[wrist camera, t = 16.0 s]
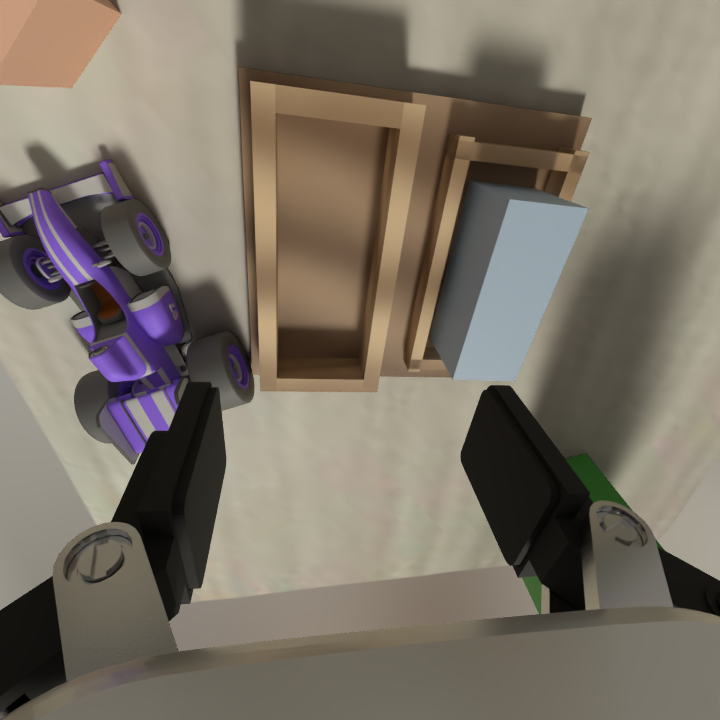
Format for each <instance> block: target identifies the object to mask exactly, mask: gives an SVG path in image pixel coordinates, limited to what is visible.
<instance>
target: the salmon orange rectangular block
mask: <svg viewBox="0 0 720 720" xmlns="http://www.w3.org/2000/svg"><path fill="white" fill-rule="evenodd" d="M120 15H121V13H120V12H119V11H118V9H117V8H116V7H115V6H114V5H113V4H112V3H111V2H110V1H109V0H0V85H19V86H41V87H63V88H72V87H73V86H74V84H75V83H76V81H77V80H78V78H79V77H80V75H81V74H82V72H83V71H84V69H85V68H86V66H87V65H88V63H89V62H90V60H91V59H92V57H93V56H94V54H95V53H96V51H97V50H98V48H99V47H100V45H101V44H102V42H103V41H104V39H105V38H106V36H107V35H108V33H109V32H110V30H111V29H112V27H113V26H114V24H115V23H116V21H117V20H118V18H119V17H120Z"/></svg>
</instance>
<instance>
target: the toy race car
mask: <svg viewBox="0 0 720 720" xmlns="http://www.w3.org/2000/svg"><path fill="white" fill-rule="evenodd" d="M99 164H100V166H101V168H102V170H103V172H102V173H99V174H96V175H93V176H90V177H87V178H84V179H81V180H78V181H75V182H72V183H69V184H66V185H63V186H60V187H57V188H54V189H51V190H47V189H44V188H39V189H37V190H34V191H30V192H28V197H26V198H23V199H20V200H17V201H14V202H11V203H8V204H5V203H4V204H2V203H1V201H0V233H1V234H2V236H3V237H12V238H9V239H6V240H3V241H0V293H1V294H2V295H3V296H4V297H5V298H7V299H8V300H9V301H11V302H12V303H14V304H16V305H18V306H20V307H22V308H26V309H32V310H33V309H40V308H44V307H47V306H50V305H53V304H56V303H59V302H62V301H64V300H66V299H67V298H68V296H70V297H71V298H72V299H73V301H74V302H75V303H76V305H77V306H78V307H79V308H80V310H81V312H79V313H77V314H76V315H74V316H73V317H71V318H70V319H71V321H72V323H73V324H74V326H75V328H76V329H77V331H78V332H79V334H80V335H81V336H82V337H83V338H84V339H85V340H87V341H88V342H89V343H90V345H89V348H90V349H91V350H92V352H91V353H90V354H89V359H90V360H91V361H92V363H93V364H94V365H95V366H96V367H97V369H98V370H97V371H94V372H90V373H88V374H86V375H85V376H83V377H82V378H81V379H80V380H79V382H78V384H77V386H76V389H75V394H74V404H75V410H76V413H77V416H78V419H79V421H80V423H81V425H82V426H83V428H84V429H85V430H86V431H87V433H88V434H89V435H90V436H92V437H93V438H94V439H96V440H98V441H100V442H103V443H112V444H113V445H114V446H115V447H116V448H117V449H118V450H119V451H120V453H121V454H122V455H123V456H124V457H125V458H126V459H127V460H128V461H129V462H130V463H131V464H135V462H136V460H137V457H138V455H139V453H141V452H143V449H144V447H145V445H146V443H147V440H148V438H149V436H150V435H151V433H152V432H153V431H168V430H169V427H170V425H171V422H172V420H173V417H174V415H175V412H176V410H177V407H178V405H179V402H180V400H181V397H182V395H183V392H184V390H185V387H186V385H187V383H188V382H211V384H212V387H218V388H219V392H220V402H221V411H223V410H226V409H230V408H233V407H236V406H240V405H243V404H246V403H249V402H251V401H252V399H253V396H254V378H253V374H252V368H251V365H250V362H249V359H248V356H247V354H246V352H245V350H244V348H243V346H242V345H241V343H240V341H239V340H238V339H237V337H236V336H235V335H234V334H233V333H231V332H229V331H224V332H221V333H217V334H214V335H211V336H208V337H204V338H201V339H198V340H195V341H193V342H191V344H190V345H189V347H188V350H187V366H186V364H185V362H184V361H183V359H182V357H181V355H180V353H179V351H178V349H177V347H176V345H180V344H183V343H186V342H188V341H190V340H191V339H192V333H191V329H190V326H189V322H188V319H187V315H186V312H185V309H184V305H183V302H182V298H181V295H180V292H179V289H178V287H177V284H176V282H175V280H174V278H173V277H172V275H171V273H170V272H169V270H168V267H169V266H170V263H171V252H170V247H169V243H168V240H167V238H166V236H165V234H164V232H163V230H162V228H161V227H160V225H159V223H158V221H157V220H156V218H155V216H154V215H153V213H152V212H151V211H150V210H149V209H148V207H146V206H145V205H144V204H143V203H142V202H140V201H138V200H136V199H133V197H132V195H131V193H130V191H129V190H128V188H127V186H126V184H125V183H124V181H123V179H122V177H121V176H120V174H119V172H118V171H117V169H116V167H115V165H114V164H113V162H112V160H105V161H101V162H99ZM95 194H114V195H115V197H116V199H117V200H118V201H123V202H120V203H117V204H114V205H111V206H108V207H105V208H104V209H103V210H102V213H101V227H102V231H103V234H104V237H105V240H103V241H99V242H98V241H97V240H96V238H95V237H94V236H93V235H92V234H91V233H90V232H89V231H88V230H87V229H86V228H83V227H77V226H76V225H75V224H74V222H73V221H72V220H71V219H70V218H69V216H68V215H67V214H66V213H65V211H64V210H63V209H62V208H61V206H60V205H62V204H65V203H68V202H71V201H74V200H77V199H80V198H83V197H86V196H90V195H95ZM32 216H33V218H34V222H35V225H36V228H37V231H38V234H39V237H40V239H38V238H35V237H33V236H29V235H23V234H25V233H24V231H23V230H22V229H21V227H22V225H23V224H24V223H25V222H26V221H27V220H29V219H30V218H31V217H32ZM14 236H15V237H14ZM105 244H108V246H109V247H106V248H103V247H102V245H105ZM110 249H111V251H112V252H110V253H107V250H110ZM113 256H115V257H116V258H117V260H118V261H119V262H120V263H121V264H122V265H123V266H120V267H114V266H110V265H111V264H112V263H114V262H115V261H114V260H113V258H112V257H113ZM109 266H110V267H109Z"/></svg>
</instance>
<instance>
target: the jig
mask: <svg viewBox="0 0 720 720" xmlns="http://www.w3.org/2000/svg"><path fill="white" fill-rule="evenodd" d="M238 73H239V95H240V117H241V139H242V161H243V182H244V204H245V226H246V248H247V270H248V291H249V313H250V335H251V357H252V374H260V391H300V392H377V389H378V383H379V377H380V376H396V377H451V376H450V374H449V372H448V370H447V368H446V366H445V365H444V363H443V361H442V359H441V357H440V355H439V354H438V352H437V350H436V348H435V346H434V345H433V343H432V341H431V339H430V337H429V335H430V331H431V327H432V324H433V320H434V316H435V312H436V308H437V304H438V300H439V296H440V293H441V289H442V285H443V281H444V277H445V273H446V269H447V265H448V262H449V258H450V254H451V250H452V246H453V242H454V238H455V234H456V230H457V227H458V223H459V219H460V215H461V211H462V207H463V203H464V199H465V196H466V192H467V188H468V184H469V180H474V181H482V182H490V183H498V184H506V185H514V186H522V187H530V188H536V189H539V190H541V191H544V192H546V193H549V194H552V195H554V196H557V197H560V198H562V199H565V200H567V201H570V202H571V199H572V197H573V194H574V192H575V189H576V186H577V184H578V181H579V179H580V176H581V173H582V171H583V168H584V166H585V163H586V160H587V158H588V155H589V153H590V152H586V151H581V150H580V149H581V146H582V144H583V141H584V138H585V136H586V133H587V130H588V127H589V125H590V122H591V119H592V118H588V117H581V116H574V115H567V114H561V113H554V112H547V111H540V110H533V109H526V108H519V107H512V106H505V105H498V104H491V103H484V102H477V101H471V100H464V99H457V98H450V97H443V96H436V95H429V94H422V93H415V92H408V91H401V90H394V89H388V88H381V87H374V86H367V85H360V84H353V83H346V82H339V81H332V80H325V79H318V78H311V77H304V76H298V75H291V74H284V73H277V72H270V71H263V70H256V69H249V68H242V67H238Z"/></svg>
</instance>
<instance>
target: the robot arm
mask: <svg viewBox="0 0 720 720" xmlns="http://www.w3.org/2000/svg"><path fill="white" fill-rule="evenodd" d="M461 462H462V465H463V467H464V470H465V472H466V474H467V476H468V478H469V481H470V483H471V485H472V487H473V490H474V492H475V494H476V496H477V498H478V501H479V503H480V505H481V507H482V510H483V512H484V514H485V516H486V518H487V521H488V523H489V525H490V527H491V529H492V532H493V534H494V536H495V538H496V541H497V543H498V545H499V547H500V549H501V552H502V554H503V556H504V558H505V560H506V562H507V563H508V564H509V565H510V566H511V565H512V566H513V568H514V570H515V572H516V574H517V577H518V578H520V577H533V576H537V577H538V579H539V581H540V582H541V584H542V594H541V614H537V615H527V616H517V617H516V616H515V617H504V618H494V619H484V620H473V621H462V622H453V623H441V624H431V625H421V626H412V627H401V628H390V629H380V630H370V631H360V632H350V633H340V634H331V635H321V636H311V637H302V638H292V639H282V640H272V641H262V642H253V643H245V644H237V645H229V646H220V647H212V648H204V649H196V650H187V651H180V652H179V651H178V648H177V645H176V642H175V639H174V636H173V633H172V630H171V627H170V624H169V621H170V620H171V619H172V618H173V617H174V616H175V615H177V614H178V613H179V609H180V605H181V604H190V602H191V597H192V593H193V589H195V588H201V586H202V583H203V579H204V574H205V569H206V564H207V559H208V554H209V549H210V544H211V539H212V534H213V529H214V524H215V519H216V514H217V509H218V504H219V499H220V494H221V489H222V484H223V479H224V474H225V468H226V450H225V441H224V431H223V421H222V412H221V402H220V392H219V388H218V387H212V384H211V382H188V383H187V385H186V387H185V390H184V392H183V395H182V397H181V400H180V402H179V405H178V407H177V410H176V412H175V415H174V417H173V420H172V422H171V425H170V427H169V430H168V431H153V432H152V433H151V435H150V436H149V438H148V440H147V443H146V445H145V447H144V449H143V452H142V454H141V456H140V458H139V461H138V463H137V465H136V467H135V470H134V472H133V474H132V476H131V478H130V481H129V483H128V485H127V487H126V490H125V492H124V494H123V496H122V499H121V501H120V503H119V505H118V508H117V510H116V512H115V514H114V517H113V519H112V521H111V522H109V523H103V524H100V525H97V526H93V527H91V528H89V529H88V530H86V531H84V532H82V533H80V534H79V535H77V536H76V537H75V538H74V539H72V540H71V541H70V542H69V543H68V544H67V545H66V546H65V547H64V549H63V550H62V551H61V552H60V553H59V555H58V557H57V559H56V562H55V564H54V566H53V576H52V577H51V578H49V579H47V580H46V581H44V582H43V583H41V584H40V585H38V586H37V587H35V588H34V589H32V590H31V591H29V592H28V593H26V594H24V595H23V596H22V597H20V598H18V599H17V600H15V601H14V602H12V603H11V604H9V605H8V606H6V607H5V608H3V609H2V610H0V720H720V581H719V580H717V579H715V578H714V577H712V576H710V575H708V574H706V573H705V572H702V571H701V570H699V569H697V568H695V567H694V566H692V565H690V564H688V563H686V562H684V561H683V560H681V559H679V558H677V557H675V556H673V555H672V554H670V553H668V552H666V551H664V550H662V549H661V548H659V547H657V544H656V540H655V537H654V535H653V533H652V530H651V529H650V528H649V526H648V525H647V524H646V522H645V521H644V520H643V519H642V518H640V517H639V516H638V515H637V514H636V513H634V512H633V511H631V510H630V509H628V508H627V507H625V506H622V505H620V504H618V503H615V502H611V501H597V502H595V503H593V501H592V500H591V499H590V497H589V495H590V492H589V491H588V489H587V488H586V487H585V485H584V484H583V483H582V481H581V480H580V478H579V477H578V476H577V474H576V473H575V472H574V470H573V469H572V468H571V466H570V465H569V464H568V462H567V461H566V460H565V458H564V457H563V456H562V454H561V453H560V452H559V450H558V449H557V448H556V446H555V445H554V444H553V442H552V441H551V440H550V438H549V437H548V436H547V434H546V433H545V432H544V430H543V429H542V428H541V426H540V425H539V424H538V422H537V421H536V419H535V418H534V417H533V415H532V414H531V413H530V411H529V410H528V409H527V407H526V406H525V405H524V403H523V402H522V401H521V399H520V398H519V397H518V395H517V394H516V393H515V391H514V390H513V389H512V388H511V387H510V386H505V385H491V386H489V387H488V388H487V390H484V391H483V392H482V394H481V397H480V399H479V402H478V405H477V408H476V411H475V414H474V416H473V419H472V422H471V425H470V428H469V431H468V434H467V436H466V439H465V442H464V445H463V448H462V451H461Z"/></svg>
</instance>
